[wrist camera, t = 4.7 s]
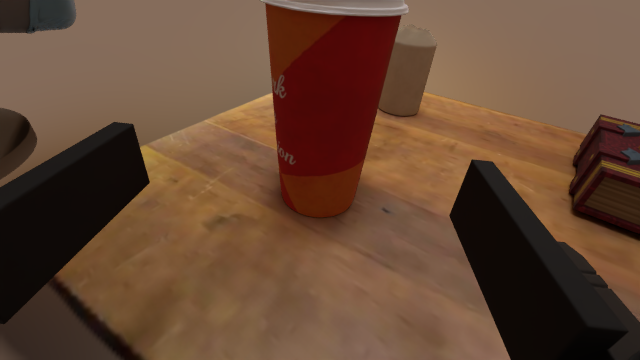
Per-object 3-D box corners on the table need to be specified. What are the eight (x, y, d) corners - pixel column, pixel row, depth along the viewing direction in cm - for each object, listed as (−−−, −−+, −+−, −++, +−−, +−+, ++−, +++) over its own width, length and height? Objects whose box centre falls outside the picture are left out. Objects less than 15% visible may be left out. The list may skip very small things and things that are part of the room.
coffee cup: (293, 156, 29) (297, -34, 20) (376, 179, 27) (422, -22, 18) (246, 210, 22) (221, -36, 14) (352, 244, 21) (403, -18, 12)
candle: (426, 113, 40) (451, 31, 34) (394, 119, 38) (415, 32, 32) (400, 98, 44) (418, 22, 38) (369, 102, 42) (383, 22, 36)
